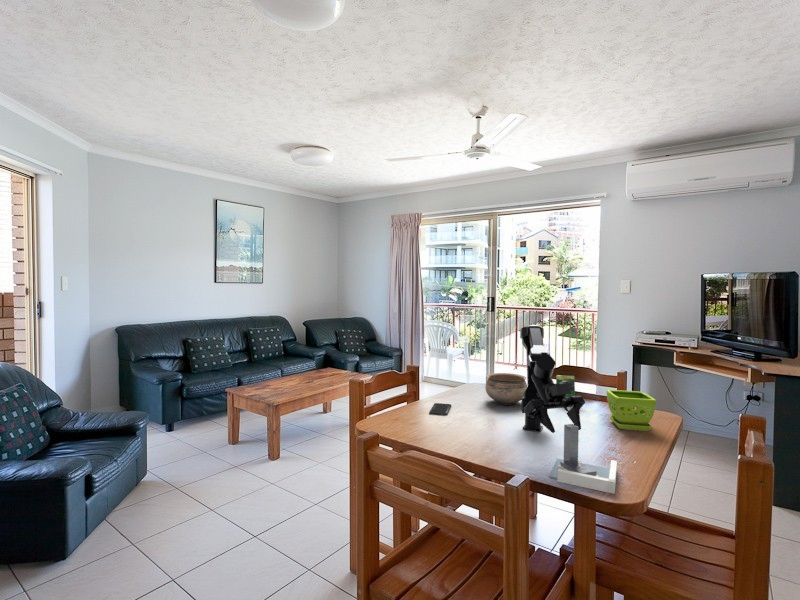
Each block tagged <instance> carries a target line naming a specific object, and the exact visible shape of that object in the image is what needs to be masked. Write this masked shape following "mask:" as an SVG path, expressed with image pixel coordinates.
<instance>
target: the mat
mask: <svg viewBox="0 0 800 600" xmlns="http://www.w3.org/2000/svg"><path fill="white" fill-rule="evenodd" d="M560 461H564V458H563V459H561V458H556V459H555V462H554V464H553V466H552V468H551V471H550V473H549V475H548V478H551V479H554V480H558V469H562V470H567V469H565V468H564V467H562V466H560ZM582 463H583V462H582ZM583 464H585V465H587V466H588V467H590V468H592V469H594V470H595V471H597V477H602V478H607V479H609V473H610V467H603V466H599V465H598V466H597V465H593V464H587V463H583ZM567 471H568V470H567Z"/></svg>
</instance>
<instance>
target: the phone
mask: <svg viewBox="0 0 800 600" xmlns="http://www.w3.org/2000/svg"><path fill="white" fill-rule="evenodd" d="M451 408H452V404H450V403H439V402H434V403H433V405H432V407H431V408H430V410H429V411H428V412H429V413H428V414H429V415H432V414H434V415H433V416H446V417H447V416H448V415H449V413H450V411H451Z"/></svg>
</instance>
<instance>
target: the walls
mask: <svg viewBox="0 0 800 600" xmlns="http://www.w3.org/2000/svg"><path fill="white" fill-rule="evenodd" d="M609 468H610V473H609V479H607V478H602V477H597V476H592V475H587V474H582V473H577V472H572V471H567V470H562V469H558V479H557V482H558V483H562V484H567V485H573V486H576V487H581V488H586V489H590V490H591V489H592V490H596V491H599V492H600V491H601V492H604V493H608V494H614V495H615V493H616V483H617V474H618V472H617V471H618V470H617V468H618V461H617V460H614V459H613V460H612V459H611V460H610V467H609Z"/></svg>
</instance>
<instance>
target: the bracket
mask: <svg viewBox="0 0 800 600" xmlns="http://www.w3.org/2000/svg"><path fill="white" fill-rule="evenodd" d="M579 432H580V430H579V427H578V426H576V425H574V424H573V423H568V424H567V423H566V424H564V427H563V460H564V461H560V466H562V467H564V468H565V469H567V470H568V471H572V472H577V473H582V474H587V475H592V476H597V471H595V470H594V469H592V468H590V467H588V466H587V465H585V464H586V463H584V464H583V462H581V461H580V460H579Z"/></svg>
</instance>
